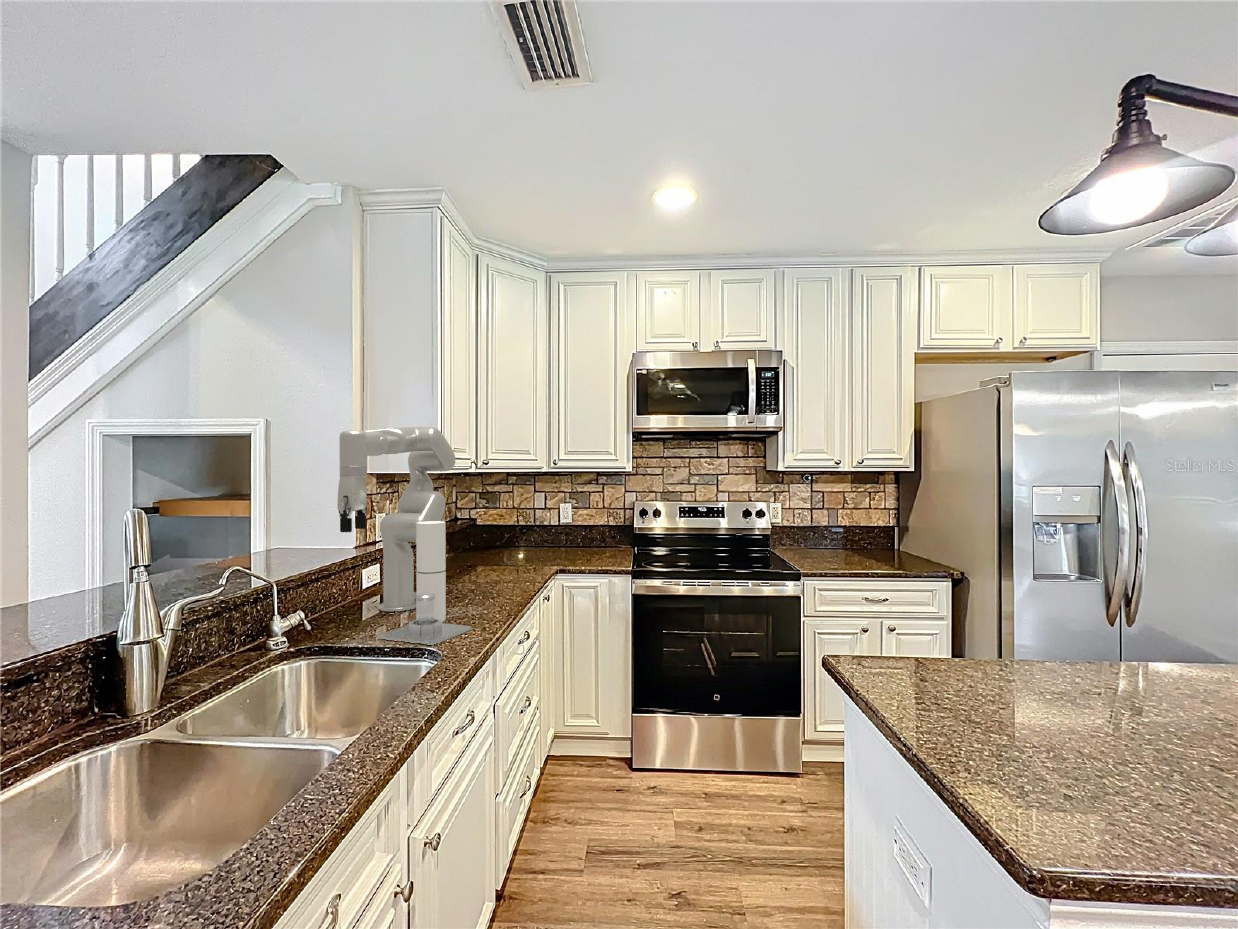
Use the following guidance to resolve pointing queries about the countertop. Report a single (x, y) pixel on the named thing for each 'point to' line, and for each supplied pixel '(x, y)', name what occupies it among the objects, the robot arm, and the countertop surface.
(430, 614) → the grey cylinder
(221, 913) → the countertop surface
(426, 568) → the container
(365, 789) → the countertop surface
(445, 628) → the flange
